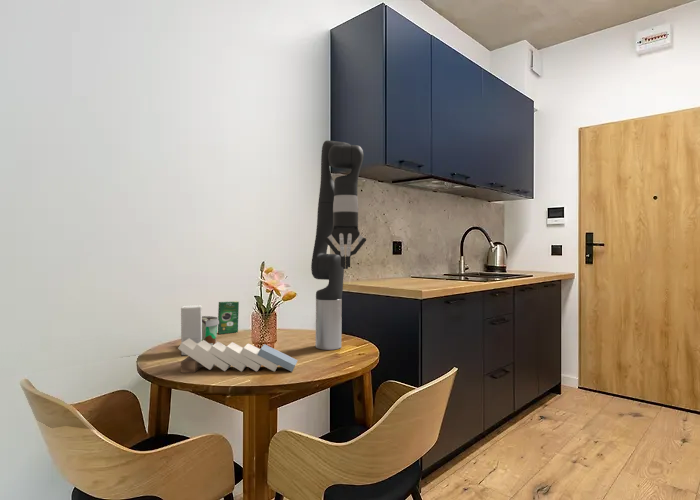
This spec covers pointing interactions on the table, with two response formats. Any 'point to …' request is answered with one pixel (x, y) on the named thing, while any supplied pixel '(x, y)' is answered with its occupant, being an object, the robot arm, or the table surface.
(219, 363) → the domino
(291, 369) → the domino
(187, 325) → the skincare box
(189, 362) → the block
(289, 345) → the table surface
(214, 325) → the food container
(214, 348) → the domino
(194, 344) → the domino
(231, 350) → the domino
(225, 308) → the coffee box
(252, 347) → the domino
